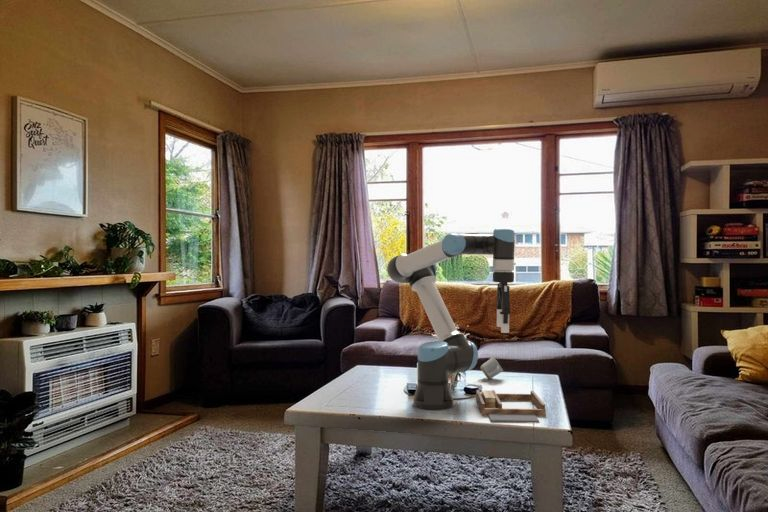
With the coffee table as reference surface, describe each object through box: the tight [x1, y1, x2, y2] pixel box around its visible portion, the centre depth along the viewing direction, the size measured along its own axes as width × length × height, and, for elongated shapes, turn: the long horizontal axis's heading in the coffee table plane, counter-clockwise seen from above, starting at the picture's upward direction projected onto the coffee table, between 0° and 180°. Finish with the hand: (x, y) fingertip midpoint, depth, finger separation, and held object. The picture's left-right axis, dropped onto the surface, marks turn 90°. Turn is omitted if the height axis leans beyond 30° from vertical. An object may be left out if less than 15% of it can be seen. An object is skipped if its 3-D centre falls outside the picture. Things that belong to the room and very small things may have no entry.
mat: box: [488, 413, 540, 423], centre depth 179 cm, size 16×9×1 cm, turn 86°
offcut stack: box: [481, 390, 496, 408], centre depth 193 cm, size 4×12×5 cm, turn 176°
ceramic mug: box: [480, 356, 504, 380], centre depth 236 cm, size 11×8×8 cm
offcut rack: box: [475, 389, 547, 417], centre depth 192 cm, size 22×21×4 cm
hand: (502, 329), depth 187 cm, fingers open, 13 cm apart
